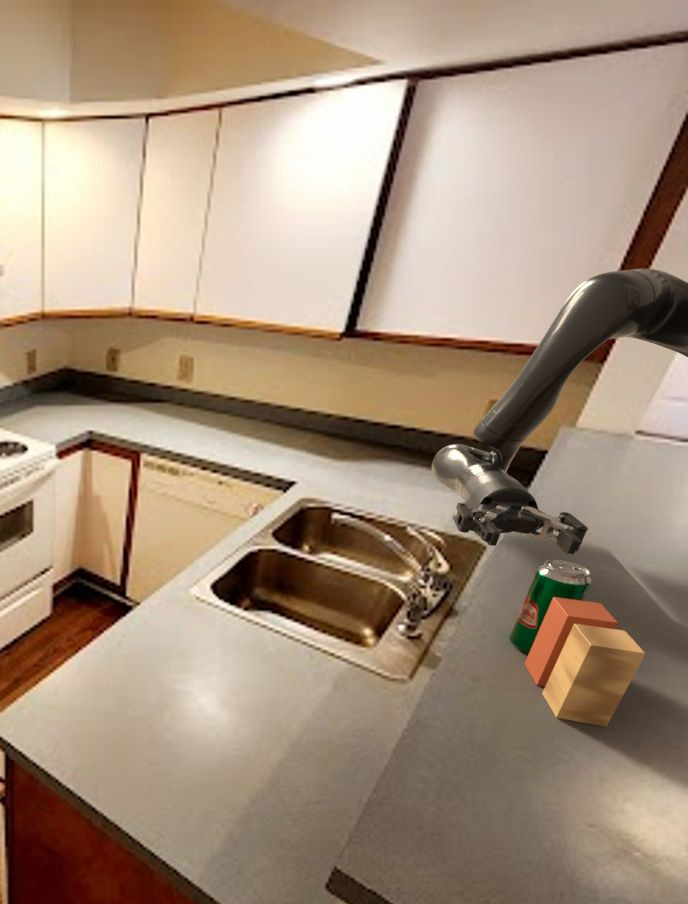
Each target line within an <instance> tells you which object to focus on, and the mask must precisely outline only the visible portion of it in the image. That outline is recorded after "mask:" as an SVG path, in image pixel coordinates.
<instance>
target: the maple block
mask: <svg viewBox="0 0 688 904" xmlns="http://www.w3.org/2000/svg"><path fill="white" fill-rule="evenodd" d="M645 655H646V652H645V651H644V650H643V648H641V647H640V646H639V644H638V643H637V642H636V641H635V640H634V639H633V638H632V636H631V635H630V634H629V633H628V632H627V631H626V630H622V629H616V628H615V629H609V628H602V627H595V626H588V625H581V624H574V625H573V627H572V629H571V631H570V634H569V636H568V638H567V640H566V642H565V645H564V647H563V649H562V651H561V653H560V656H559V658H558V660H557V662H556V664H555V666H554V669H553V671H552V673H551V675H550V677H549V680H548V682H547V684H546V686H545V687H544V689H543V690H542V692H541V694H542V697H543V698H544V699H545V701H546V703H547V704H548V706H549V708H550V709H551V711H552V713H553V714H554V717H555V718H556V719H561V720H566V721H573V722H577V723H582V724H586V725H587V724H588V725H593V726H598V727H604V728H607V727H608V725H609V723H610V722H611V719H612V717H613V716H614V713H615V712H616V710H617V708H618V706H619V704H620V703H621V701H622V699H623V697H624V695H625V693H626V691H627V689H628V687H629V686H630V684H631V682H632V680H633V678H634V676H635V674H636V672H637V670H638V668H639V666H640V665H641V663H642V661H643V659H644V657H645Z"/></svg>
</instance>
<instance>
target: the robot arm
mask: <svg viewBox="0 0 688 904" xmlns="http://www.w3.org/2000/svg"><path fill="white" fill-rule="evenodd" d="M622 338H631V339H637V340H641V341H644V342H647V343H651V344H654V345H657V346H659V347H663V348H665V349H668V350H671V351H673V352H676V353H678V354H680V355H682V356H684V357H686V358H688V281H686V280H684V279H681V278H680V277H677V276H675V275H673V274H671V273H669V272H666V271H663V270H660V269H655V268H634V269H623V270H614V271H608V272H602V273H599V274H597V275H594V276H592V277H589V278H588V279H586V280H584V281H583V282H582V283H581V284H579V285H578V286H577V287H576V288H575V289H574V290H573V292H571V294H570V295H569V297H568V298H567V299H566V300H565V302H564V304H562V307H561V308H560V310H559V311H558V313H557V314H556V316H555V318H554V319H553V321H552V323H551V324H550V326H549V328H548V329H547V331H546V332H545V334H544V335H543V337H542V339H541V340H540V342H539V343H538V345H537V347H536V348H535V349H534V352H533V353H532V354H531V356H530V357H529V359H528V360H527V362H526V363H525V365H524V366H523V368H522V369H521V371H520V372H519V374H518V375H517V376H516V378H515V379H514V381H512V383H511V384H510V385H509V387H508V388H507V389H506V391H505V392H504V393H503V394H502V395H501V396H500V398H499V399H498V400H497V401H496V402H495V403H494V404H493V406H492V407H491V408H490V409H489V410H488V411H487V412H486V414H485V415H484V416H483V417H482V418H481V419H480V420H479V422H478V423H477V424H476V426H475V428H474V429H473V435H474V438H475V439H476V441H478V442H479V443H480V444H481V445H482V446H484V447H486V448H487V449H489V450H491V451H490V452H489V451H486V450H482V449H479V448H475V447H472V446H469V445H466V444H460V443H453V444H448V445H446V446H444V447H442V448H440V450H439V451H437V453H436V454H435V455H434V458H433V459H432V463H431V472H432V475H433V477H434V479H435V480H437V481H438V483H440V484H441V485H443V486H445V487H446V488H448V489H449V490H451V491H453V492H455V493H456V494H458V496H459V497H460V498H461V500H462V501H463V502H457V504H456V507H455V509H454V513H453V516H452V519H453V522H454V524H455V526H456V528H457V530H458V531H459V532H460V533H465V534H467V533H469V532H470V531H471V532H473V534H474V535H477V536H478V537H480V539H481V540H482V541H483V542H485V543H486V544H487V545H488V546H494V547H496V546H497V545H498V542H499V539H500V536H501V534H508V533H516V534H519V535H526V536H529V537H531V538H534V539H537V540H538V541H546V540H549V541H551V542H553V543H556V545H557V546H558V547H559V548H560V550H562V551H563V553H564V554H566V555H574V554H575V553H576V552H578V551H579V549H580V547H581V545H582V544H583V542H584V538H585V535H586V534H587V532H588V530H589V526H587V525H586V524H584V523H583V522H582V521H581V520H579V519H578V518H577V517H575V516H574V515H573V514H571V513H570V512H567V511H562V512H560V513H559V515H558V516H552V515H551V514H547V513H546V512H544V511H541V510H539V505H538V503H537V500H536V498H535V497H534V496H533V495H532V494H531V493H530V492H529V491H528V490H527V489H526V488H525V487H524V486H523V485H522V484H521V483H520V482H519V481H518V479H515V478H514V477H513V476H511V475H510V474H508V473H507V471H508V469H509V467H510V464H511V463H512V461H513V459H514V457H515V456H516V454H517V453H518V451H519V449H520V447H521V446H522V445H523V444H524V442H525V441H526V440H527V439H529V437H530V436H531V435H532V434H534V432H535V431H536V430H537V429H538V428H539V427H540V426H541V425H542V424H543V422H545V420H547V418H548V417H549V416H550V414H551V413H552V412H553V410H554V409H555V407H556V405H557V404H558V401H559V399H560V397H561V394H562V392H563V390H564V388H565V385H566V383H567V381H568V379H570V376H571V375H572V373H573V372H574V371H576V369H577V367H578V366H580V364H581V363H582V362H583V361H584V360H585V359H586V358H587V357H588V356H590V355H591V354H592V353H593V352H594V351H596V349H598V348H599V347H601V345H603V344H604V343H605V342H607V341H608V340H613V339H622ZM538 530H541V531H538ZM554 532H558V534H557V535H556V534H554Z"/></svg>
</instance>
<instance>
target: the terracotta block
mask: <svg viewBox="0 0 688 904" xmlns="http://www.w3.org/2000/svg"><path fill="white" fill-rule="evenodd" d="M618 623H619V622H618V621H617V620H616V619H615V617H614V616H613V615H612V614H611V613H610V612H609V611H608V610H607V609H606V607H605V606H604V605H603V604H602V603H601V602H596V601H595V602H594V601H587V600H583V601H580V600H573V599H565V598H557V597H553V599H552V601H551V604H550V606H549V608H548V611H547V613H546V615H545V618H544V620H543V622H542V625H541V627H540V629H539V631H538V634H537V636H536V638H535V641H534V643H533V645H532V648H531V650H530V652H529V654H527V657H526V659H525V662H524V666H525V668H526V669H527V671H528V674H529V675H530V676H531V678H532V680H533V681H534V682H535V685H536V686H539V687H544V688H545V686H546V684H547V682H548V680H549V677H550V675H551V673H552V671H553V669H554V666H555V664H556V662H557V660H558V658H559V656H560V653H561V651H562V649H563V647H564V645H565V642H566V640H567V638H568V636H569V634H570V631H571V629H572V627H573V625H574V624H581V625H588V626H595V627H602V628H609V629H616V628H617V627H618Z"/></svg>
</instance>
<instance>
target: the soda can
mask: <svg viewBox="0 0 688 904" xmlns="http://www.w3.org/2000/svg"><path fill="white" fill-rule="evenodd" d="M591 575H592V572H591V570H589V569H588V568H587V567H585V566H583V565H581V564H578V563H575V562H572V561H568V560H561V559H548V560H545V561H544V562H543V564H542V565H540V566H538V568H537V569H536V571H535V574H534V576H533V579H532V581H531V582H530V586H529V588H528V591H527V593H526V596H525V598H524V600H523V603H522V605H521V608H520V610H519V612H518V615H517V618H516V620H515V623H514V625H513V628H512V630H511V632H510V634H509V641H510V643H511V645H512V646H513V647H515V649H517V650H518V651H520V652H522V653H525V654H527V655H529V652H530V650H531V648H532V645H533V643H534V641H535V638H536V636H537V634H538V631H539V629H540V627H541V625H542V622H543V620H544V618H545V615H546V613H547V611H548V608H549V606H550V604H551V601H552V599H553V597H557V598H565V599H573V600H580V601H585V598H586V596H587V593H588V591H589V589H590V587H591V585H592V579H591Z"/></svg>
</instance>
